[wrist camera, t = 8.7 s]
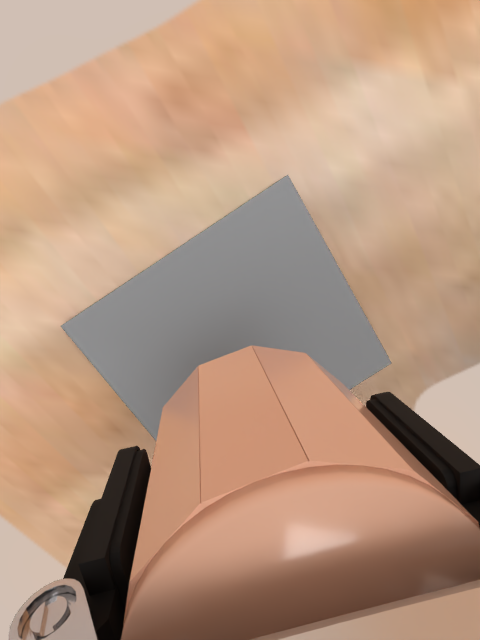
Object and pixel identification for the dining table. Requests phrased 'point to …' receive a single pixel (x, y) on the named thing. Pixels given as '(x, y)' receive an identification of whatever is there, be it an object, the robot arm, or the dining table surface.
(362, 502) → the peach domed cylinder
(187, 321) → the slate mat
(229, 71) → the dining table surface
